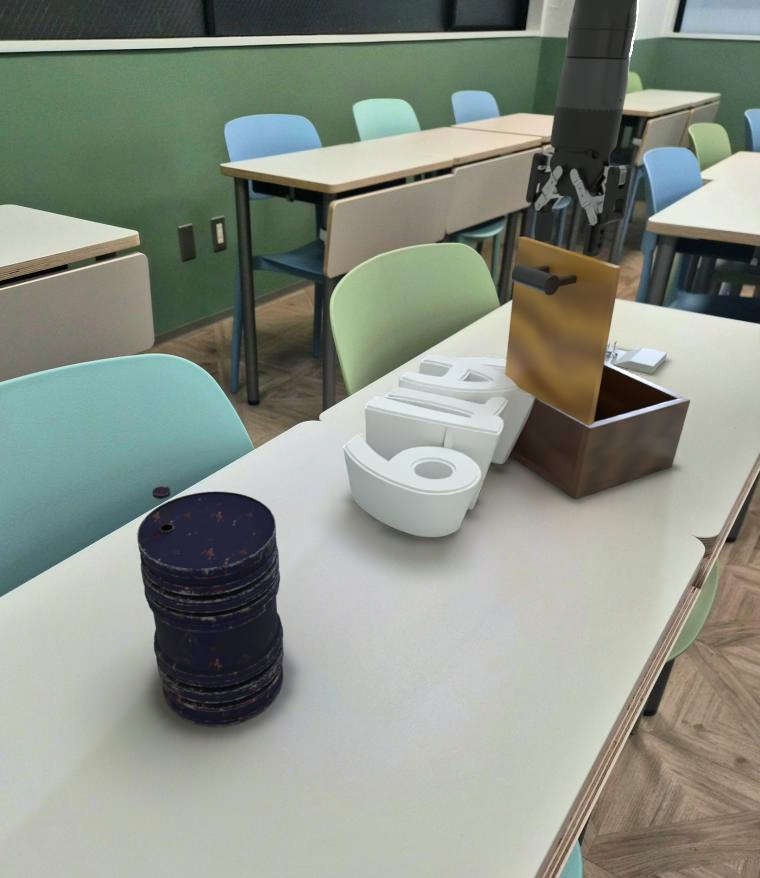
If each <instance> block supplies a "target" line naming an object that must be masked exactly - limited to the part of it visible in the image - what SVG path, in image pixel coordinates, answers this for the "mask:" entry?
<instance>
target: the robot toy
mask: <svg viewBox="0 0 760 878" xmlns="http://www.w3.org/2000/svg"><path fill="white" fill-rule="evenodd" d="M617 342H618V340H616V341H614V343H613V345H611V342H608V344H607V349H606V355H605V362H607V363H609V364H611V365H613V366H616V367H619V368H625V369H629V370H633V371H638V372H641V373H645V374H649V375H653V373H654V372H655V371H657V369H658V368H659V367H660V366H661V365H663V363H664V362H665V361H666V359H667V356H668V352H665V351H661V350H657V349H653V348H647V347H641V348H636V349H633V350H629V351H626V350H621V349H618V348H617V345H616V344H617Z"/></svg>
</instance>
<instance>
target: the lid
mask: <svg viewBox="0 0 760 878" xmlns="http://www.w3.org/2000/svg"><path fill="white" fill-rule="evenodd" d="M621 270H622V266H621V265H617V264H614V263H611V262H608V261H604V260H601V259H598V258H595V257H589V256H585V255H583V253H579V252H576V251H572V250H569V249H566V248H562V247H560V246H556V245H554V244H550V243H547V242H540V241H537V240H535V238H534V239H533V238H530V237H527V236H518V239H517V249H516V260H515V266H514V268H513V269H512V271H511V280H512V282H513V288H512V289H513V290H512V299H511V300H512V301H511V311H510V319H509V320H510V321H509V329H508V330H509V331H508V339H507V350H506V358H505V359H506V368H505V375H506V376H507V377H509V378H510V379H511V380H512V381H513V382H514V383H515V384H516V385H517V386H518V388H520V389H522V390H524V391H526V392H528V393H529V394H531V395H533V396H535V397H537V398H539V399H540V400H542V401H544V402H546V403H548V404H549V405H551V406H553V407H555V408H557V409H559V410H560V411H562V412H564V413H566V414H568V415H569V416H571V417H573V418H575V419H577V420H579V421H580V422H582V423H584V424H586V425H588V426H589V425H592V424H593V423H594V417H595V412H596V406H597V400H598V395H599V389H600V383H601V378H602V372H603V366H604V361H605V355H606V349H607V344H609V337H610V331H611V327H612V321H613V316H614V310H615V309H614V308H615V304H616V297H617V293H618V288H619V287H618V286H619V282H620V275H621Z"/></svg>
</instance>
